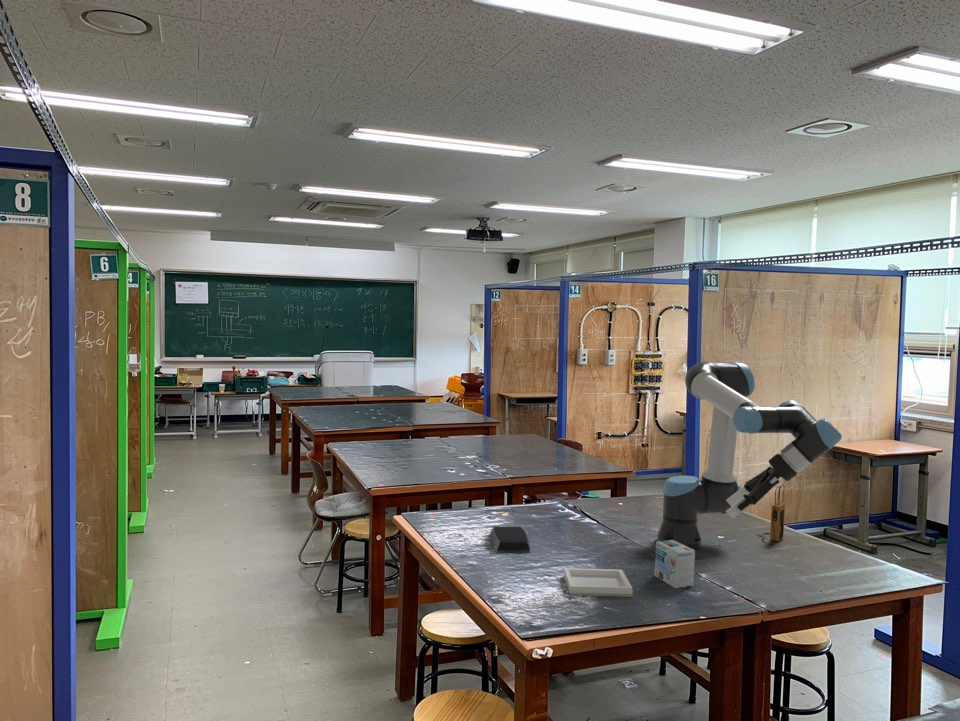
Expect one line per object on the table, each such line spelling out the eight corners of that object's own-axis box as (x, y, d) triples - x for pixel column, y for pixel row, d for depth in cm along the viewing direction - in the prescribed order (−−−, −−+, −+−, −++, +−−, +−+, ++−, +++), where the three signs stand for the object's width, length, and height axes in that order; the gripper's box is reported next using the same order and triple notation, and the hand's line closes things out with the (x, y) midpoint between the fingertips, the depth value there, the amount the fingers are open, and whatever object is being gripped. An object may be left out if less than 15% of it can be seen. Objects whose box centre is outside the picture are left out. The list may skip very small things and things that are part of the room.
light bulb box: (653, 575, 203) (654, 541, 202) (671, 573, 205) (673, 539, 205) (675, 589, 193) (677, 552, 192) (694, 586, 195) (696, 550, 195)
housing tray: (563, 576, 201) (564, 568, 200) (621, 577, 200) (621, 569, 200) (569, 595, 186) (570, 586, 186) (632, 597, 186) (632, 588, 186)
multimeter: (758, 530, 254) (760, 478, 253) (786, 536, 247) (789, 482, 246) (745, 539, 242) (748, 484, 241) (774, 545, 236) (777, 489, 235)
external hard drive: (493, 554, 220) (493, 541, 220) (488, 535, 239) (488, 524, 239) (532, 554, 221) (532, 541, 221) (524, 536, 240) (524, 524, 240)
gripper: (803, 482, 174) (739, 531, 180) (794, 465, 198) (738, 509, 204) (782, 460, 176) (719, 509, 182) (775, 445, 199) (720, 490, 205)
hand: (729, 509), depth 193 cm, fingers open, 13 cm apart
